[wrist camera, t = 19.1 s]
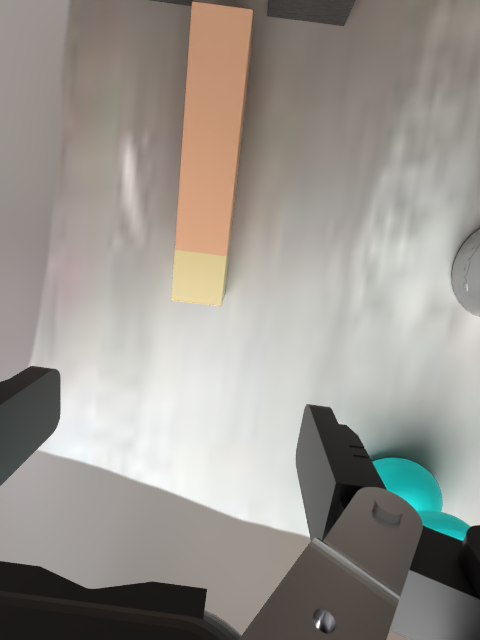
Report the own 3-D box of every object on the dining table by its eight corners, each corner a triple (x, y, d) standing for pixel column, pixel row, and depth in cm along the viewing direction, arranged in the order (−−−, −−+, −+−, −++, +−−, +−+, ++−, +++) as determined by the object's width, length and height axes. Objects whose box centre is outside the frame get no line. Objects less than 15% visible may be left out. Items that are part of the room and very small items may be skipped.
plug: (251, 50, 27) (252, 9, 22) (224, 295, 32) (221, 306, 27) (201, 43, 27) (192, 1, 22) (182, 290, 32) (171, 300, 27)
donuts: (505, 527, 26) (495, 624, 28) (433, 447, 35) (430, 524, 38) (374, 537, 26) (375, 632, 28) (339, 455, 36) (342, 531, 38)
